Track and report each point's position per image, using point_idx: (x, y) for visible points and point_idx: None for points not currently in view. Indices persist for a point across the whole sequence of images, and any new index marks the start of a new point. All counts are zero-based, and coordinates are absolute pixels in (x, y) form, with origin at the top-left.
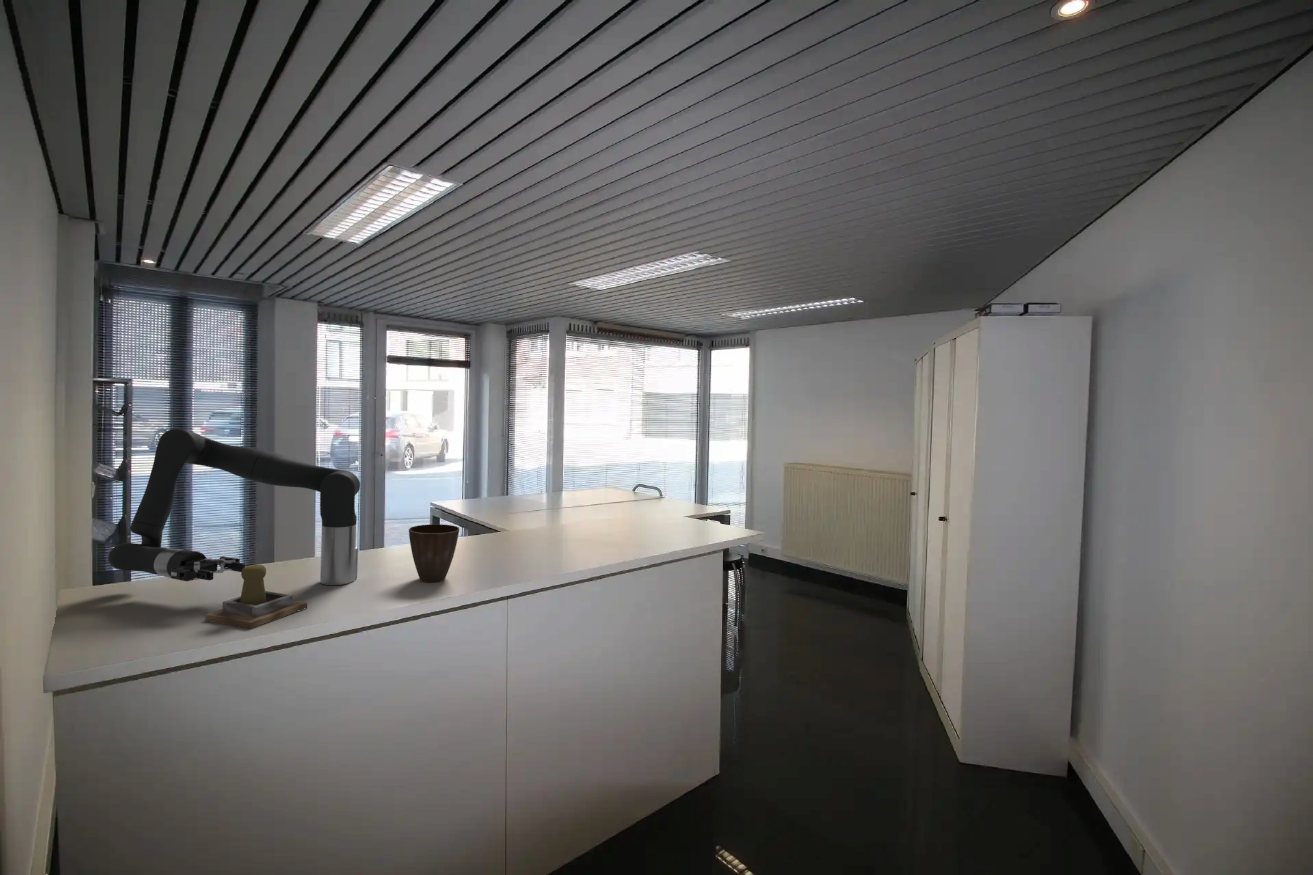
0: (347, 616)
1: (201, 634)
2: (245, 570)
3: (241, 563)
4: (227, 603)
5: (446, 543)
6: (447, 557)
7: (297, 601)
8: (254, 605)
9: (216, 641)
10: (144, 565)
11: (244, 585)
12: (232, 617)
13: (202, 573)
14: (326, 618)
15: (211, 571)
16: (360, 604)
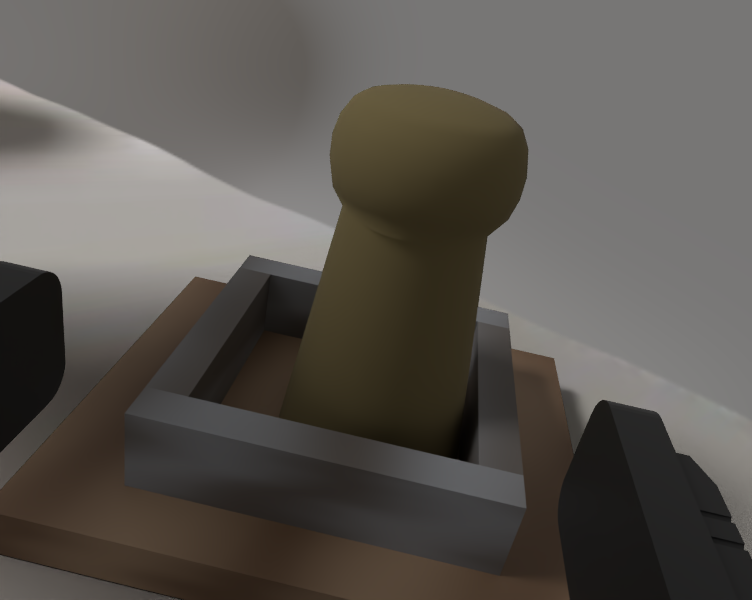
0: (284, 212)
1: (748, 539)
2: (524, 140)
3: (10, 280)
4: (520, 473)
5: None
6: None
7: (172, 308)
8: (484, 328)
9: (730, 431)
10: None
11: (481, 277)
12: (550, 456)
13: (733, 532)
14: (320, 243)
15: (623, 408)
16: (125, 201)
